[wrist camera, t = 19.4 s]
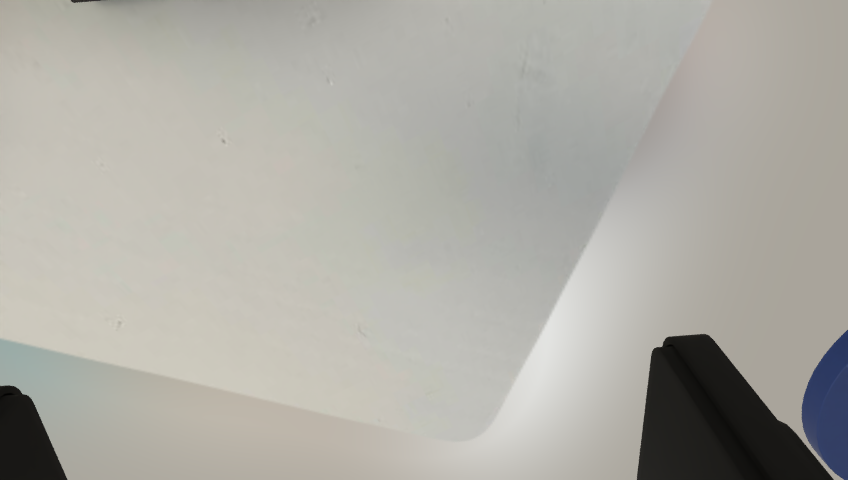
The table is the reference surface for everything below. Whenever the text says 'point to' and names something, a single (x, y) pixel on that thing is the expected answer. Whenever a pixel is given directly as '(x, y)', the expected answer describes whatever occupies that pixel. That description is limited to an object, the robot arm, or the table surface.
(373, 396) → the table surface
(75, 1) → the base pad
